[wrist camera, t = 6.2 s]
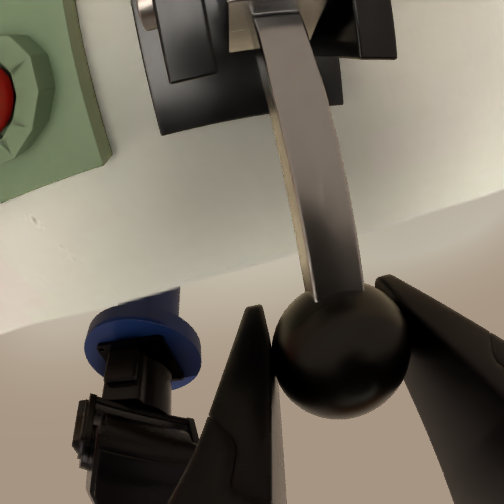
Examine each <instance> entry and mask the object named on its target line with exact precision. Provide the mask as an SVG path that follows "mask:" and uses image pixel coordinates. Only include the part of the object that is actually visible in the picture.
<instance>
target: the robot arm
mask: <svg viewBox="0 0 504 504" xmlns="http://www.w3.org/2000/svg"><path fill="white" fill-rule="evenodd" d="M375 288H377V289H379V290H380V291H382V292H383V293H385V294H386V295H387V296H388V297H390V298H391V299H392V300H393V301H394V303H395V304H396V305H397V306H398V308H399V309H400V310H401V312H402V314H403V315H404V318H405V320H406V322H407V325H408V328H409V332H410V338H411V356H410V362H409V366H408V369H407V372H406V375H405V377H404V381H405V384H406V386H407V388H408V390H409V392H410V395H411V397H412V399H413V401H414V404H415V405H416V408H417V410H418V413H419V415H420V417H421V419H422V422H423V424H424V427H425V429H426V431H427V434H428V436H429V438H430V441H431V443H432V446H433V448H434V451H435V453H436V455H437V458H438V461H439V463H440V466H441V468H442V471H443V473H444V477H445V479H446V482H447V485H448V488H449V490H450V493H451V496H452V499H453V501H454V504H504V340H502V339H500V338H499V337H497V336H496V335H494V334H492V333H490V332H489V331H488V330H486V329H484V328H483V327H481V326H479V325H478V324H476V323H474V322H473V321H471V320H469V319H467V318H466V317H464V316H463V315H461V314H459V313H458V312H456V311H454V310H452V309H451V308H449V307H447V306H446V305H444V304H442V303H440V302H439V301H437V300H435V299H434V298H432V297H430V296H428V295H427V294H425V293H423V292H421V291H420V290H418V289H416V288H414V287H412V286H411V285H409V284H407V283H405V282H404V281H402V280H400V279H398V278H396V277H395V276H393V275H384V276H381V277H378V278H377V279H376V281H375ZM97 351H98V352H99V353H100V355H101V356H102V357H103V359H104V360H105V361H106V363H107V365H106V370H105V375H104V388H103V394H102V398H101V397H97V395H95V394H90V397H89V400H82V401H79V406H78V411H77V417H76V422H75V428H74V435H73V442H72V447H73V448H74V450H75V451H76V453H77V454H78V459H80V461H79V468H81V469H85V470H87V480H86V491H87V493H88V495H89V497H90V499H91V501H92V503H93V504H287V500H286V485H285V469H284V454H283V440H282V427H281V413H280V399H279V388H278V381H277V378H276V376H275V372H274V365H273V355H272V347H271V342H270V337H269V332H268V328H267V324H266V319H265V315H264V311H263V307H262V305H254V306H250V307H247V308H246V309H245V311H244V314H243V317H242V320H241V323H240V326H239V329H238V332H237V335H236V338H235V341H234V343H233V346H232V349H231V352H230V355H229V358H228V361H227V364H226V367H225V370H224V373H223V375H222V378H221V381H220V384H219V387H218V389H217V392H216V395H215V398H214V401H213V404H212V407H211V409H210V413H209V416H210V417H208V418H207V420H206V423H205V426H204V429H203V431H202V434H201V437H200V439H199V438H198V434H197V430H196V426H195V422H194V419H193V418H181V417H177V416H172V415H171V389H172V381H180V380H183V379H184V373H183V371H182V369H181V367H180V366H179V364H178V362H177V360H176V358H175V357H174V355H173V353H172V351H171V349H170V347H169V346H168V344H167V342H166V340H165V338H164V337H163V336H162V335H159V334H157V335H150V336H144V337H137V338H130V339H123V340H116V341H109V342H101V343H98V344H97Z"/></svg>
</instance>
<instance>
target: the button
mask: <svg viewBox="0 0 504 504" xmlns="http://www.w3.org/2000/svg"><path fill="white" fill-rule="evenodd" d="M13 104H14V91H13V86H12V83H11V80H10V78H9V77H8V75H7V74H6V72H5V71H4V70H2V69H1V68H0V132H1V131H2V130H3V129H4V128H5V126H6V125H7V123H8V121H9V119H10V116H11V113H12V110H13Z"/></svg>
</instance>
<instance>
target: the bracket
mask: <svg viewBox="0 0 504 504" xmlns="http://www.w3.org/2000/svg"><path fill="white" fill-rule="evenodd" d="M131 5H132V10H133V15H134V21H135V26H136V30H137V35H138V40H139V45H140V49H141V54H142V59H143V63H144V68H145V72H146V76H147V81H148V85H149V89H150V93H151V97H152V102H153V106H154V110H155V114H156V118H157V122H158V126H159V130H160V134H161V135H162V136H163V135H167V134H171V133H175V132H179V131H184V130H188V129H192V128H197V127H201V126H206V125H210V124H215V123H220V122H225V121H230V120H235V119H241V118H246V117H252V116H258V115H264V114H270V113H269V108H268V104H267V100H266V96H265V91H264V87H263V83H262V79H261V75H260V71H259V67H258V63H257V59H256V55H255V51H254V49H251V50H244V51H238V52H229V51H228V48H227V44H226V40H225V35H224V31H223V26H222V22H221V18H220V13H219V9H218V5H217V1H216V0H131ZM310 42H311V45H312V48H313V51H314V54H315V57H316V61H317V64H318V67H319V71H320V74H321V77H322V81H323V84H324V88H325V91H326V95H327V99H328V102H329V106H334V105H342V104H343V93H342V82H341V72H340V63H339V58H349V59H359V60H395V59H397V49H396V38H395V29H394V21H393V13H392V6H391V0H328V2H327V5H326V7H325V9H324V11H323V14H322V16H321V18H320V20H319V23H318V25H317V27H316V29H315V32H314V34H313V36H312V38H311V41H310Z"/></svg>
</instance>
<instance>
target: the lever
mask: <svg viewBox="0 0 504 504" xmlns="http://www.w3.org/2000/svg"><path fill="white" fill-rule="evenodd" d="M216 1H217V5H218V9H219V13H220V18H221V22H222V26H223V31H224V35H225V40H226V44H227V48H228V51H229V52H238V51H244V50H251V49H254V51H255V55H256V59H257V63H258V67H259V71H260V75H261V79H262V83H263V87H264V91H265V96H266V100H267V104H268V108H269V113H270V117H271V121H272V126H273V130H274V135H275V139H276V144H277V148H278V153H279V157H280V162H281V167H282V172H283V176H284V181H285V186H286V191H287V196H288V201H289V206H290V211H291V216H292V221H293V226H294V231H295V237H296V242H297V247H298V253H299V258H300V264H301V269H302V275H303V280H304V286H305V292H304V293H303V294H301V295H300V296H299V297H298V298H297V299H295V300H294V301H293V302H292V303H291V304H290V305H289V306H288V308H287V309H286V310H285V311H284V313H283V315H282V316H281V318H280V320H279V322H278V324H277V326H276V329H275V333H274V336H273V341H272V355H273V365H274V372H275V376H276V378H277V381H278V383H279V385H280V386H281V388H282V390H283V391H284V393H285V394H286V395H287V396H288V397H289V398H290V400H291V401H292V402H294V403H295V404H296V405H297V406H299V407H300V408H301V409H303V410H305V411H306V412H308V413H311V414H314V415H316V416H319V417H322V418H327V419H349V418H355V417H358V416H361V415H364V414H367V413H369V412H371V411H373V410H375V409H376V408H378V407H379V406H381V405H382V404H383V403H385V402H386V401H387V400H388V399H389V398H390V397H391V396H392V395H393V394H394V393H395V391H396V390H397V388H398V387H399V386H400V384H401V383H402V381H403V379H404V377H405V375H406V372H407V369H408V366H409V362H410V356H411V338H410V332H409V328H408V325H407V322H406V320H405V318H404V315H403V314H402V312H401V310H400V309H399V308H398V306H397V305H396V304H395V303H394V301H393V300H392V299H391V298H390V297H388V296H387V295H386V294H385V293H383V292H382V291H380V290H379V289H377V288H375V287H373V286H371V285H368V284H365V283H364V281H363V273H362V265H361V258H360V252H359V245H358V239H357V233H356V227H355V221H354V215H353V209H352V204H351V199H350V193H349V188H348V183H347V178H346V174H345V169H344V164H343V160H342V155H341V151H340V146H339V142H338V138H337V134H336V130H335V126H334V122H333V118H332V114H331V110H330V106H329V102H328V99H327V95H326V91H325V88H324V84H323V81H322V77H321V74H320V71H319V67H318V64H317V61H316V57H315V54H314V51H313V48H312V45H311V42H310V41H311V38H312V36H313V34H314V32H315V29H316V27H317V25H318V23H319V20H320V18H321V16H322V14H323V11H324V9H325V7H326V5H327V2H328V0H216Z"/></svg>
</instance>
